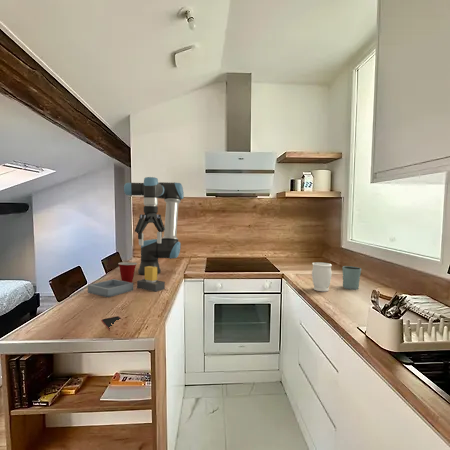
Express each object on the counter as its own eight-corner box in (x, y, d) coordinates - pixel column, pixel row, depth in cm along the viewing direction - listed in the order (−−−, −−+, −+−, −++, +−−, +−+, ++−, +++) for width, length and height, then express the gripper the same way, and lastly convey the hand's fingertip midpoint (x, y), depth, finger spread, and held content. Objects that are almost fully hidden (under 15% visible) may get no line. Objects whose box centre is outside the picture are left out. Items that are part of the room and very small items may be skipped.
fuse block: (146, 285, 167) (146, 278, 167) (164, 288, 160) (164, 281, 160) (137, 287, 161) (137, 280, 161) (155, 291, 154) (155, 284, 154)
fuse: (149, 286, 164) (149, 266, 163) (157, 288, 160) (157, 267, 160) (144, 288, 160) (144, 266, 160) (152, 290, 157) (152, 268, 157)
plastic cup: (140, 281, 176) (140, 261, 175) (128, 285, 166) (129, 264, 165) (126, 279, 180) (126, 260, 179) (113, 283, 170) (113, 263, 169)
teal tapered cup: (338, 286, 173) (338, 266, 173) (351, 285, 177) (351, 265, 176) (350, 290, 164) (351, 269, 163) (364, 289, 167) (365, 268, 167)
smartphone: (118, 315, 118) (130, 327, 106) (118, 317, 118) (130, 328, 106) (100, 319, 113) (110, 331, 102) (100, 320, 113) (110, 333, 102)
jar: (318, 292, 158) (319, 265, 157) (307, 287, 168) (308, 262, 167) (334, 291, 161) (335, 265, 160) (323, 286, 171) (324, 261, 170)
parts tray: (113, 285, 164) (113, 279, 164) (133, 290, 156) (133, 282, 156) (87, 292, 150) (87, 284, 150) (108, 297, 142) (108, 289, 142)
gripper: (161, 206, 171) (161, 241, 172) (127, 205, 149) (127, 245, 150) (171, 206, 167) (170, 242, 168) (138, 205, 146) (137, 246, 147)
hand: (150, 244), depth 159 cm, fingers open, 13 cm apart
